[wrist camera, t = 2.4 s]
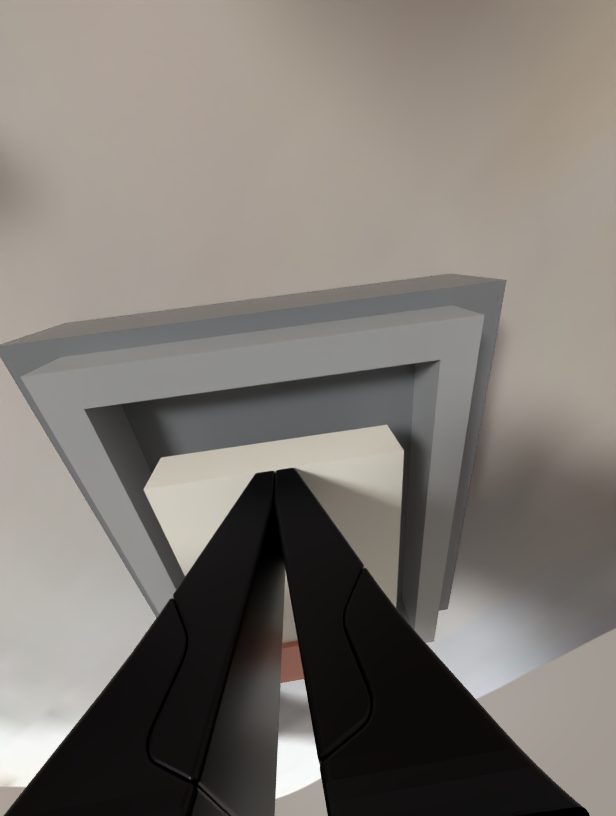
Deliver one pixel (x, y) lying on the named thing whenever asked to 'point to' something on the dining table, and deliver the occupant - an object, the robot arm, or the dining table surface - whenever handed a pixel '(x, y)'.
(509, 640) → the dining table surface
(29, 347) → the frame
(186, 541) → the breaker switch
